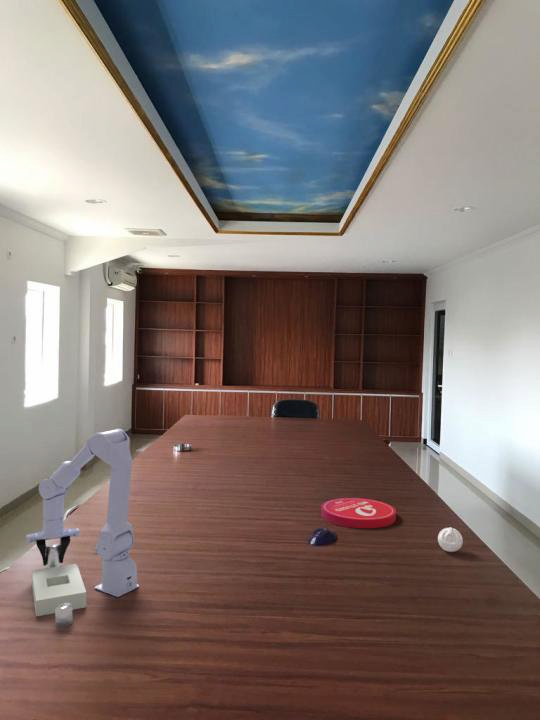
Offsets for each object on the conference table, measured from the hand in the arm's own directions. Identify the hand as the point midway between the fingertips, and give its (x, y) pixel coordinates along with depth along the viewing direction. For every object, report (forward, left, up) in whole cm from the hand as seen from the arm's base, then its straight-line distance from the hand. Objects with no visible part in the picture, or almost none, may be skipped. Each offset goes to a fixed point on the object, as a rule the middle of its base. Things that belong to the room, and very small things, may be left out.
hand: (53, 563), depth 162 cm
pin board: (-14, +8, -3) cm, 16 cm away
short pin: (-27, +17, -3) cm, 32 cm away
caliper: (+7, -26, -3) cm, 27 cm away
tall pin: (0, 0, -3) cm, 3 cm away
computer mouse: (-53, -72, -3) cm, 89 cm away
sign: (-54, -104, -3) cm, 117 cm away
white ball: (-95, -86, -3) cm, 128 cm away
